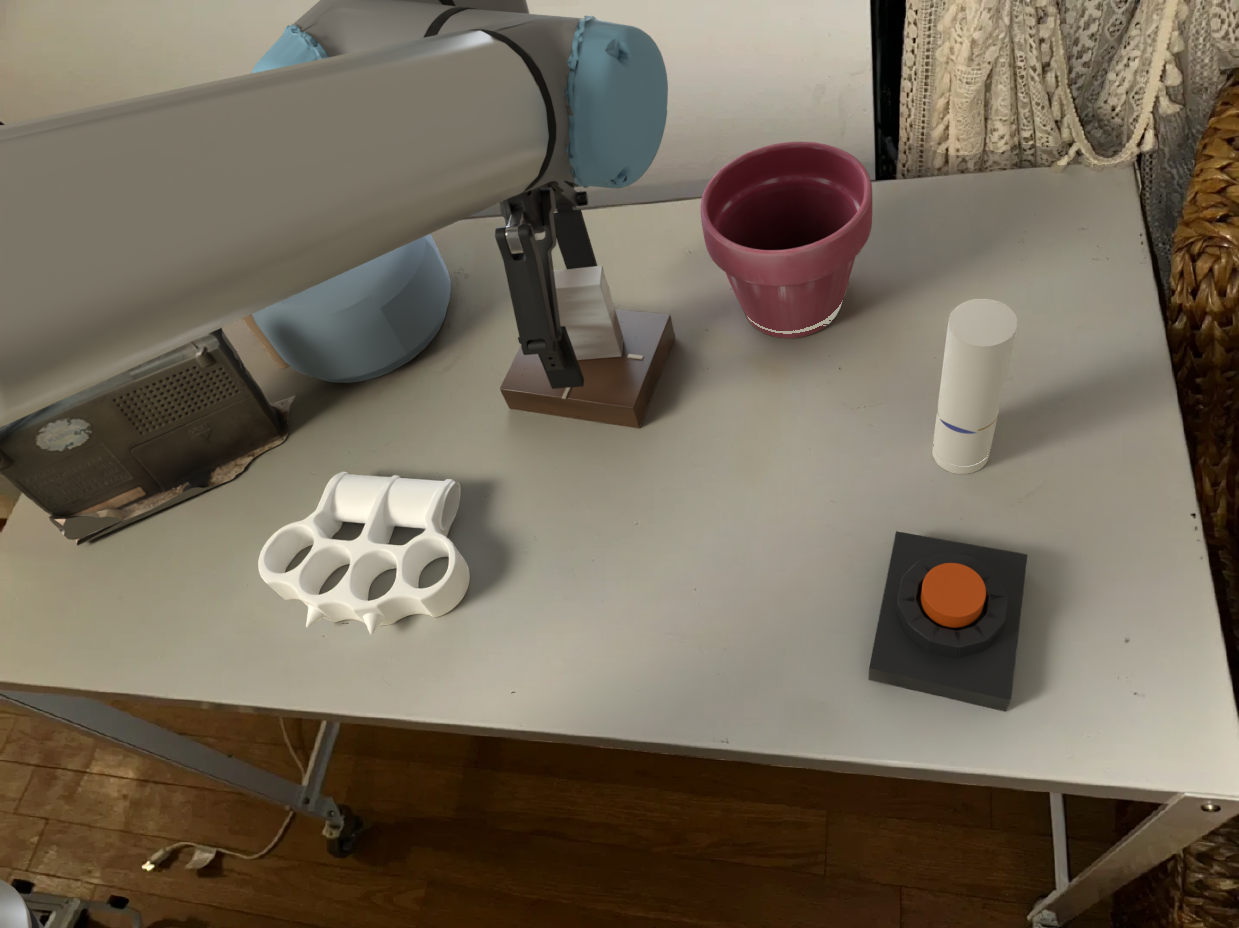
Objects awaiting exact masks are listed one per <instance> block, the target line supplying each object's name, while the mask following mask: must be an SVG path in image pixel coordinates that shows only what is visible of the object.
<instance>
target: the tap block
mask: <svg viewBox="0 0 1239 928" xmlns="http://www.w3.org/2000/svg"><path fill="white" fill-rule="evenodd" d="M615 311H616V314H617V318H618V321H619V324H620V328H621V331H622V335H623V338H624V340H623V351H622V356H621V357H610V358H598V359H586V360H577V361H578V363H579V366H580V369H581V372H582V375H583V377H584V386H582V387H570V388H557V389H552V387H551V385H550V382H549V380H548V378H547V375H546V373H545V370H544V368H543V365H542V363H541V360H540V358H539V355H538V354H533V355H524V354H523V351H522V349H521V345H520V346H519V349H518V350H517V353H516V355H515V356H514V359H513V360H512V363H511V365H510V367H509V369H508V371H507V373H506V375H505V377H504V379H503V381H502V383H501V385H500V387H499V390H500V392H501V395H502V397H503V398H504V401H505V403H506V405H507V407H508V409H509V410H515V411H521V412H522V411H523V412H529V413H536V414H542V415H549V416H554V417H555V416H556V417H562V418H568V419H574V420H580V421H581V420H582V421H587V422H594V423H602V424H607V425H615V426H620V427H627V428H634V429H640V428H641V426H642V423H643V421H644V418H645V415H646V413H647V411H648V408H649V405H650V402H651V399H652V397H653V395H654V392H655V389H656V387H657V385H658V382H659V379H660V377H661V374H662V372H663V369H664V367H665V364H666V362H667V359H668V356H669V353H670V351H671V348H672V346H673V342H674V340H675V338H676V334H675V329H674V325H673V320H672V316H671V314H669V313H660V312H650V311H649V312H648V311H640V310H632V309H622V308H615Z"/></svg>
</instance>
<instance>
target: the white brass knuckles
mask: <svg viewBox="0 0 1239 928" xmlns="http://www.w3.org/2000/svg"><path fill="white" fill-rule="evenodd" d="M461 490H462V489H461V484H460V483H459V482H458V481H454V479H452V478H451V479H450V478H446V479H445V480H437V479H435V480H434V479H432V480H431V479H423V478H408V477H406V478H405V477H401V476H400V475H396V474H395V475H394V474H393V475H392V476H379V475H364V474H349V472H347V471H340V472H339V473H336V474H334V475H333V476H332V477H331V478H330V479H329V481H328V482H327V484H326V486H325V487H324V490H323V493H322V495H321V497H320V500H319V501H318V504H317V507H316V509H315V510H314V511H313V512H312V513H310V514H309V515H308V516H307V517H306V518H304V519H302V520H298V521H293V522H291V523H288V524H286V525H284V526H282V527H281V528H278V530H276V531H275V532H274V533H273V534H272V535H271V536H270V537H269V538H268V539H267V540H266V542H265V543H264V545H263V546H262V548H261V551H260V553H259V557H258V563H257V567H258V573H259V576H260V577H261V579H262V580H263V581H264V582H265V584H267V585H268V586H269V587H270V588H271V589H272V590H273V591H275V592H276V593H277V594H278V595H279V596H280V597H281V598H282V599H283V600H285V601H291V600H300V601H301V602H302V603H304V604H305V606H307V615H306V623H305V628H306V629H307V628H309V627H311V626H312V625H313V624H316V623H317V622H318V621H320V620H323V619H325V620H328V621H330V622H332V623H335V624H336V623H339V622H342V621H347V620H355V621H359V622H361V623H363V624H365V626H366V628H367V630H368V632H369V635H370V637H372V636H373V634H375V632H376V630H377V629H378V628H379V627H380V626H387V625H393V624H395V623H397V622H398V621H399V620H401V619H403V618H406V617H408V616H412V615H427V616H429V617H432V618H439V617H441V616H444V615H445V614H448V613H449V612H451V611H452V610H453V609H454V608H456V606H458V605H459V604H460V603H461V601H462V600H463V598H464V597H465V595H466V593H467V591H468V588H469V585H470V579H471V576H470V574H471V573H470V568H469V566H468V565H469V564H468V563H467V561H466V559H465V558H464V557H463V556H462V554H461V553H460V551H459V550H458V549H457V547H456V546H455V544H454V543H453V541H452V540H451V539H449V538H448V535H449V532H450V529H451V527H452V525H453V522H454V521H455V518H456V516H457V513H458V510H459V507H460V501H461V494H462V493H461ZM345 522H346V523H355V524H356V523H357V524H364V526H363V528H362V530H361V533H360V534H359V536H358V537H356V538H354V539H352V540H346V539H345V540H344V539H334V538H333V536H334V535H336V533H338V532H339V531H340V530H341V528H342V526H343V524H344V523H345ZM395 527H401V528H414V529H423V530H424V531H422V533H421V534H418V535H416V536H414V537H413V538H412V539H410V540H409V541H408V542H407V543H405V544H402V545H399V544H398V545H397V544H389V543H390V541H391V538H392V535H393V533H394V530H395ZM310 546H311V549H310V551H309V552H308V554H307V555H306V556H305V557H304V559H303V560H302V561H301V562H300V563H299V564H298V565H297V566H296V567H294V568H293V569H291V570H289V571H286V570H287V569H288V566H289V565H290V563H291V562H292V561H293V560H294V558H296V556H297V555H298V554H299V553H300V552H301V551H302V550H304V549H306V548H308V547H310ZM441 558H448V567H447V570H446V572H445V574H444V575H443V577H442V578H441V579H439V581H437V582H436V583H434V584H432V585H430V586H428V587H423V588H420V587H419V584H420V583H419V582H420V581H419V580H420V576H421V574H422V572H423V570H424V568H425V567H426V566H427V565H428V564H430V563H431V562H433V561H434V560H437V559H441ZM346 565H349V566H348V569H347V570H346V573H345V574H344V575H343V577H341V579H340V581H339V582H338V583H337V584H336V585H335V586H334V587H333V588H332V589H330V590H329V591H326V592H324V593H320V591H321V589H322V587H323V585H324V584H325V583H326V581H327V580H328V579H329V577H330V576H331V575H332V573H334V572H335V571H336V570H337V569H339V568H341V567H343V566H346ZM393 569H396V574H395V581H394V582H393V585H392V586H391V588H390V589H389V590H388V591H386V593H385V594H383V595H382V596H379V597H377V598H375V599H371V600H370V599H369V595H370V594H369V593H370V588H371V585H372V584H373V582H374V581H375V580H376V578H377V577H378V576H379V575H381V574H383V573H384V572H386V571H388V570H393Z"/></svg>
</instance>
